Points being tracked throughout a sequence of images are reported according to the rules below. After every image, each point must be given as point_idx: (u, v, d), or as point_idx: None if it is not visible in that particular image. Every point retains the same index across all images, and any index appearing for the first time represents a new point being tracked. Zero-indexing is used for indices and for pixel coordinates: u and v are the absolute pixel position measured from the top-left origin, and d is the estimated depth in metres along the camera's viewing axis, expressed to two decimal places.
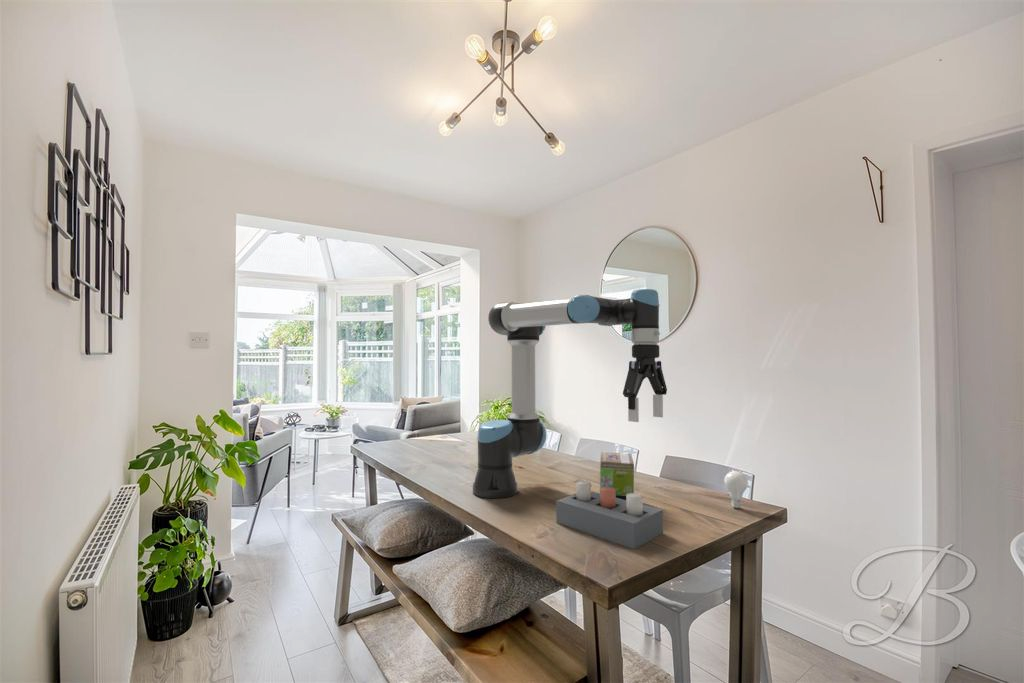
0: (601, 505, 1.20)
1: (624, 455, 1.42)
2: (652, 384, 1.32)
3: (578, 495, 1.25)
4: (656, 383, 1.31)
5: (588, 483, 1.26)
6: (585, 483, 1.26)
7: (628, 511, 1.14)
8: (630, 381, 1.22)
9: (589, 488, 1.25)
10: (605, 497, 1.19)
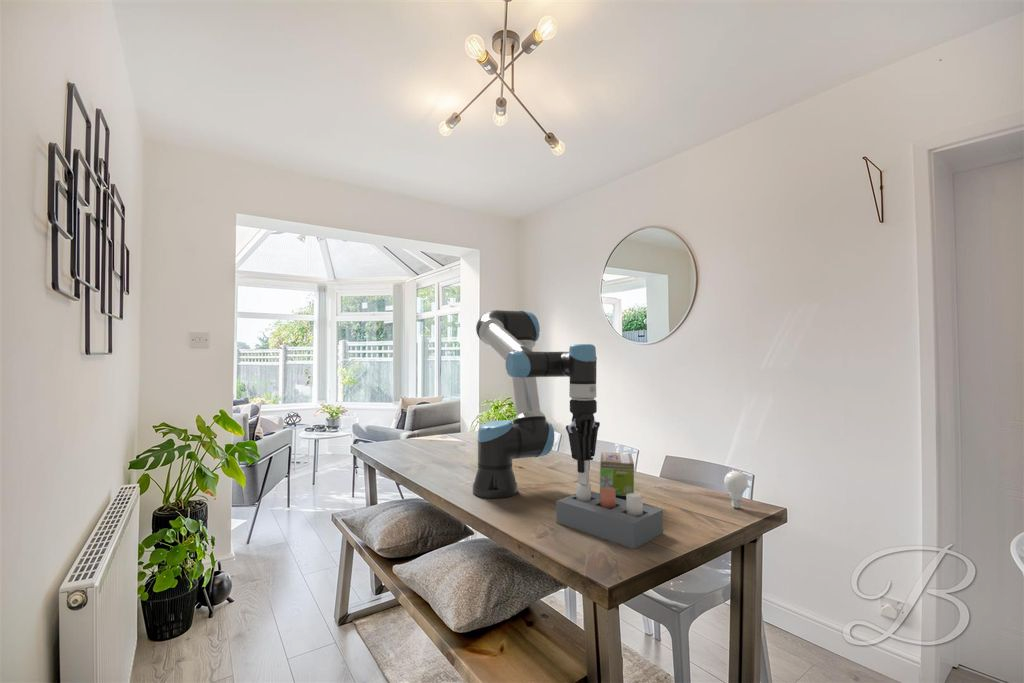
0: (601, 505, 1.20)
1: (624, 455, 1.42)
2: None
3: (578, 496, 1.25)
4: (587, 443, 1.27)
5: (588, 484, 1.26)
6: (585, 485, 1.26)
7: (628, 511, 1.14)
8: (574, 447, 1.24)
9: (589, 489, 1.25)
10: (605, 497, 1.19)
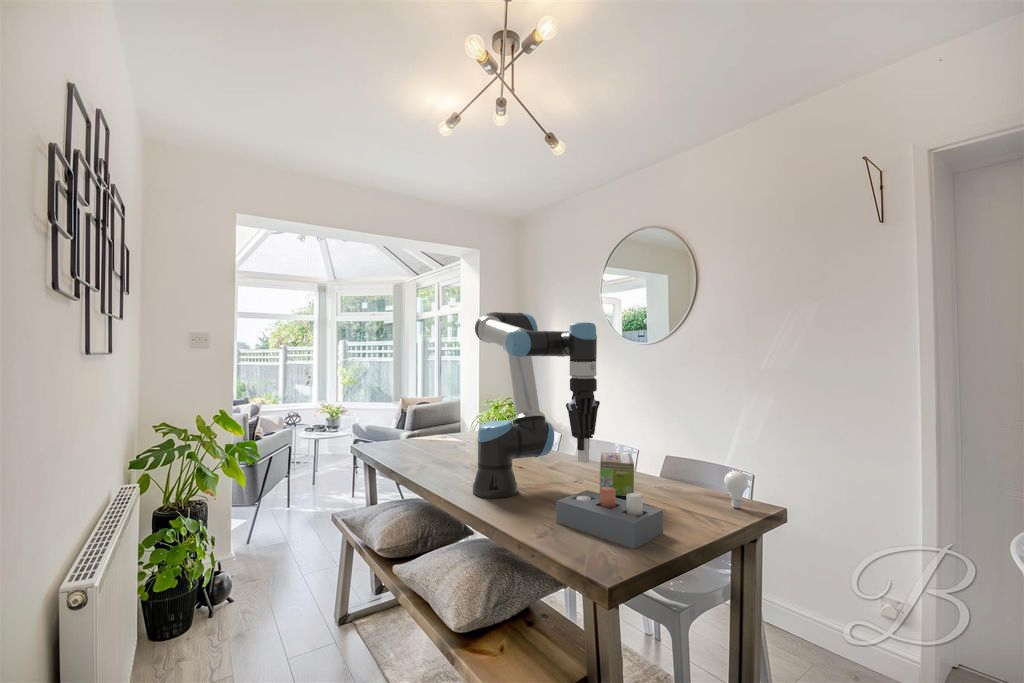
0: (601, 505, 1.20)
1: (624, 455, 1.42)
2: None
3: None
4: (587, 421, 1.27)
5: (588, 498, 1.26)
6: (585, 498, 1.26)
7: (628, 511, 1.14)
8: (574, 424, 1.24)
9: None
10: (605, 497, 1.19)
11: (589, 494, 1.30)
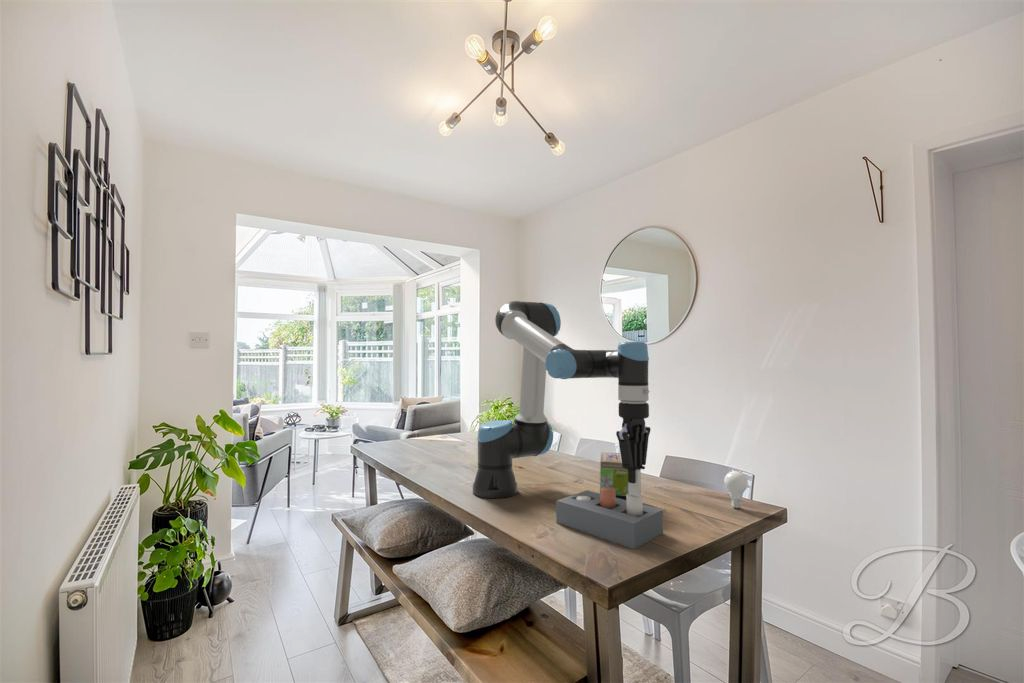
0: (601, 505, 1.20)
1: None
2: None
3: None
4: (638, 450, 1.15)
5: (588, 498, 1.26)
6: (585, 498, 1.26)
7: (628, 511, 1.14)
8: (625, 455, 1.12)
9: None
10: (605, 497, 1.19)
11: (589, 494, 1.30)
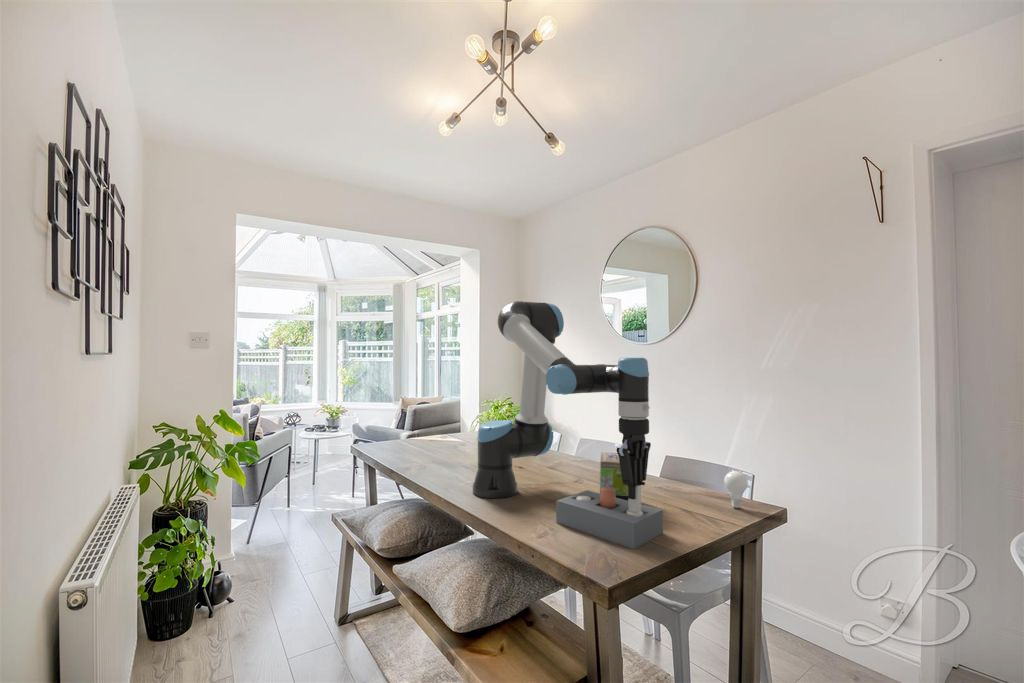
0: (601, 505, 1.20)
1: None
2: None
3: None
4: (638, 466, 1.15)
5: (588, 498, 1.26)
6: (585, 498, 1.26)
7: None
8: (625, 471, 1.12)
9: None
10: (605, 497, 1.19)
11: (589, 494, 1.30)
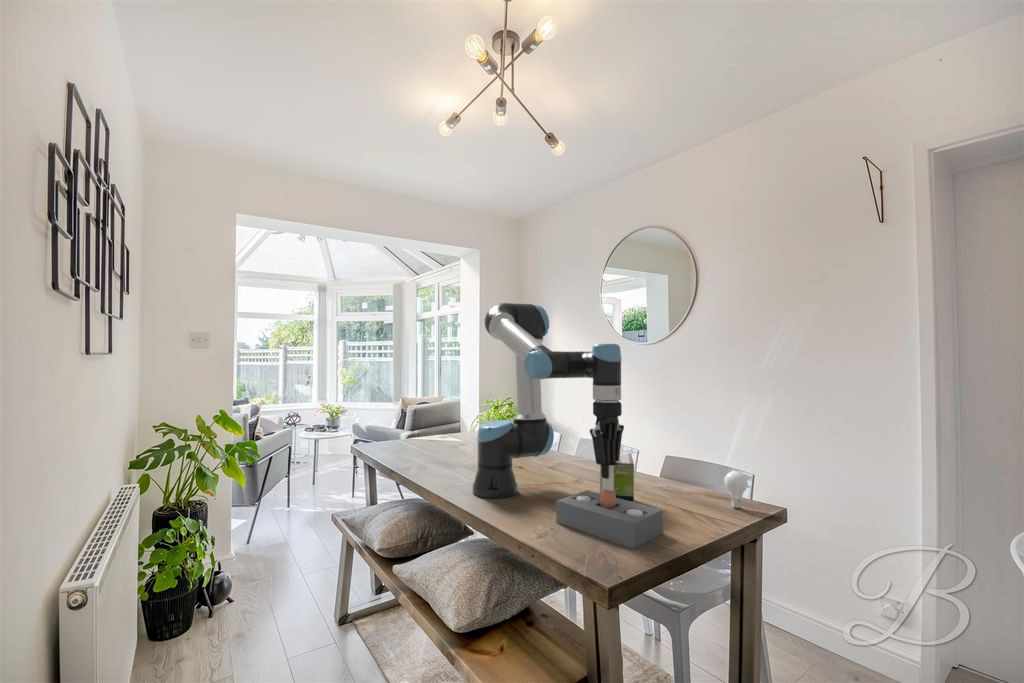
0: None
1: (624, 455, 1.42)
2: None
3: None
4: (611, 447, 1.21)
5: (588, 498, 1.26)
6: (585, 498, 1.26)
7: None
8: (598, 451, 1.18)
9: None
10: (605, 498, 1.19)
11: (589, 494, 1.30)
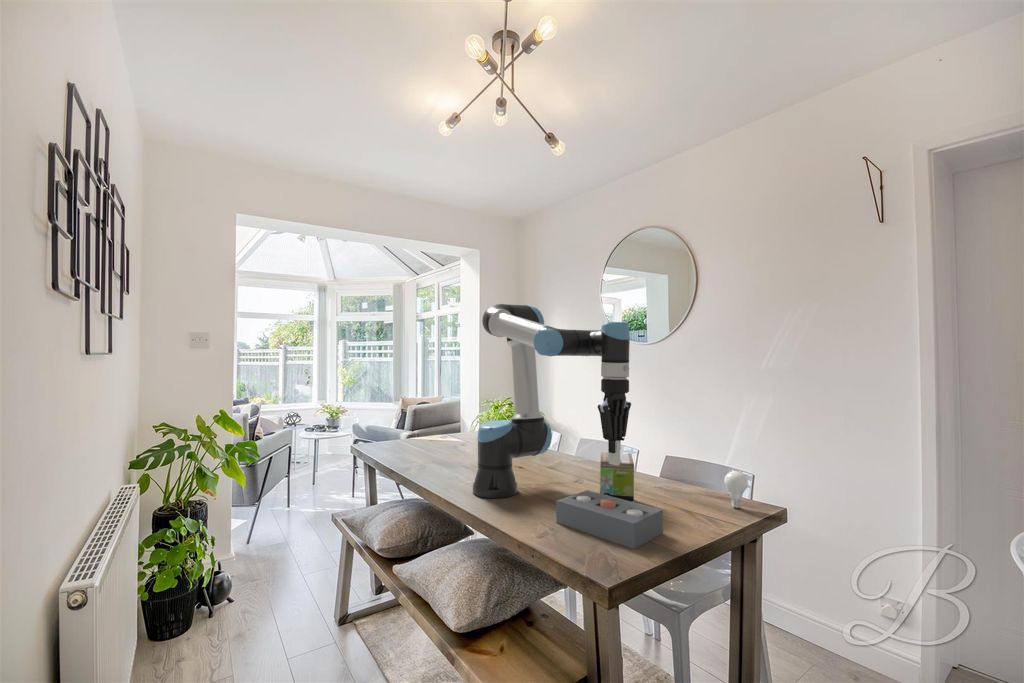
0: None
1: (624, 455, 1.42)
2: None
3: None
4: (618, 423, 1.24)
5: (588, 498, 1.26)
6: (585, 498, 1.26)
7: None
8: (606, 426, 1.21)
9: None
10: None
11: (589, 494, 1.30)
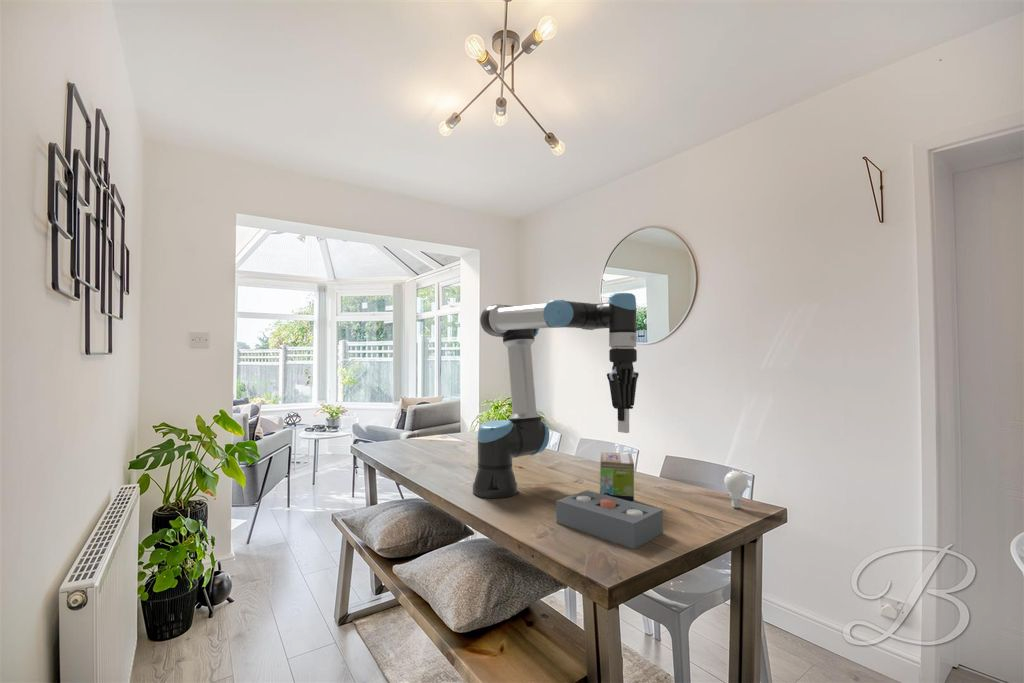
0: None
1: (624, 455, 1.42)
2: None
3: None
4: (627, 392, 1.27)
5: (588, 498, 1.26)
6: (585, 498, 1.26)
7: None
8: (615, 394, 1.24)
9: None
10: None
11: (589, 494, 1.30)
